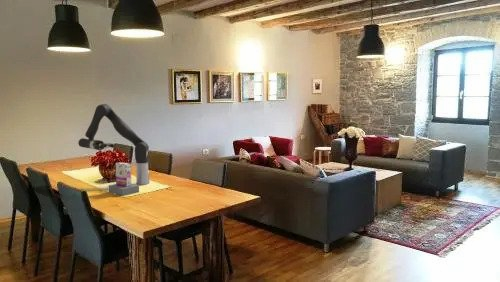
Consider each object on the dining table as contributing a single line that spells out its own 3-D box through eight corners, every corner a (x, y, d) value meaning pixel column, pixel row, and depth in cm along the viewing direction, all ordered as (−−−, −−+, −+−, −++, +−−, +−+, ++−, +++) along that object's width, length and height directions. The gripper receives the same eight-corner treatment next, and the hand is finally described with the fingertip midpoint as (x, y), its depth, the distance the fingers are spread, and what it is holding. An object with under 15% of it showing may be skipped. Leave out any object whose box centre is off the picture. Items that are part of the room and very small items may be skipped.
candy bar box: (131, 185, 283) (131, 163, 281) (126, 187, 279) (125, 164, 277) (121, 183, 289) (120, 161, 287) (115, 185, 285) (115, 162, 283)
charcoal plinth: (125, 188, 295) (125, 182, 295) (139, 192, 285) (138, 185, 284) (108, 192, 284) (108, 185, 284) (122, 196, 274) (122, 189, 273)
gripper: (88, 141, 295) (99, 142, 285) (105, 139, 306) (117, 140, 296) (88, 150, 296) (100, 152, 286) (105, 148, 307) (117, 150, 297)
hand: (108, 146), depth 291 cm, fingers open, 8 cm apart
